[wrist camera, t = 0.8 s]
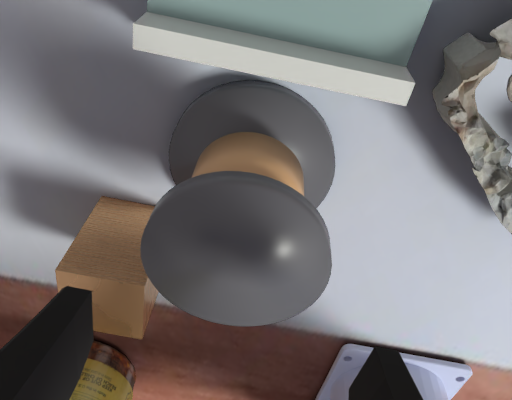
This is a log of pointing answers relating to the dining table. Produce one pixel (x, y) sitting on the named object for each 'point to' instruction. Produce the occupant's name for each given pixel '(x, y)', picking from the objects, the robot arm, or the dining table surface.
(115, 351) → the sauce bottle
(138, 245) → the wooden block
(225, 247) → the spool
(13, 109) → the dining table surface
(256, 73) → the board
